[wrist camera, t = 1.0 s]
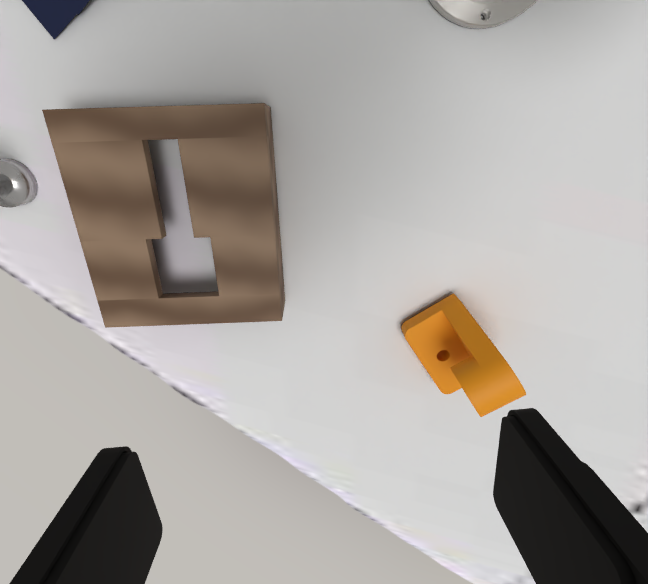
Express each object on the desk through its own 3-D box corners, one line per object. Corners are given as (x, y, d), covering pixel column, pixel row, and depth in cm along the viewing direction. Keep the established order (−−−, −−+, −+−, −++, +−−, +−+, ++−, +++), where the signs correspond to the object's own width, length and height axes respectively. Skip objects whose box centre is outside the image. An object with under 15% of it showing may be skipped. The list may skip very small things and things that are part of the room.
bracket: (396, 322, 45) (424, 383, 33) (451, 290, 43) (499, 344, 32) (437, 383, 48) (475, 457, 37) (489, 355, 47) (543, 424, 36)
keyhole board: (78, 113, 35) (42, 109, 30) (270, 107, 35) (264, 103, 31) (127, 306, 43) (105, 327, 38) (285, 300, 43) (281, 320, 38)
